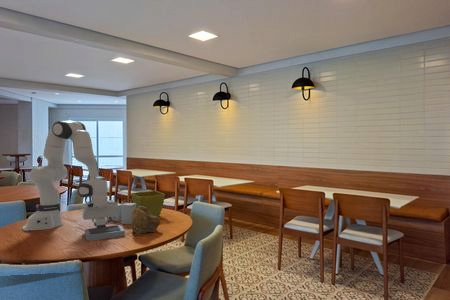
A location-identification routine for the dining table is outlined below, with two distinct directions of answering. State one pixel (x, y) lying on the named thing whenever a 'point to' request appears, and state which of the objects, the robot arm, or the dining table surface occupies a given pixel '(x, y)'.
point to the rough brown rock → (143, 221)
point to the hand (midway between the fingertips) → (100, 224)
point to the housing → (100, 222)
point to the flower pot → (149, 201)
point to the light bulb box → (118, 217)
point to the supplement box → (127, 212)
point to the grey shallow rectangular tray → (104, 232)
